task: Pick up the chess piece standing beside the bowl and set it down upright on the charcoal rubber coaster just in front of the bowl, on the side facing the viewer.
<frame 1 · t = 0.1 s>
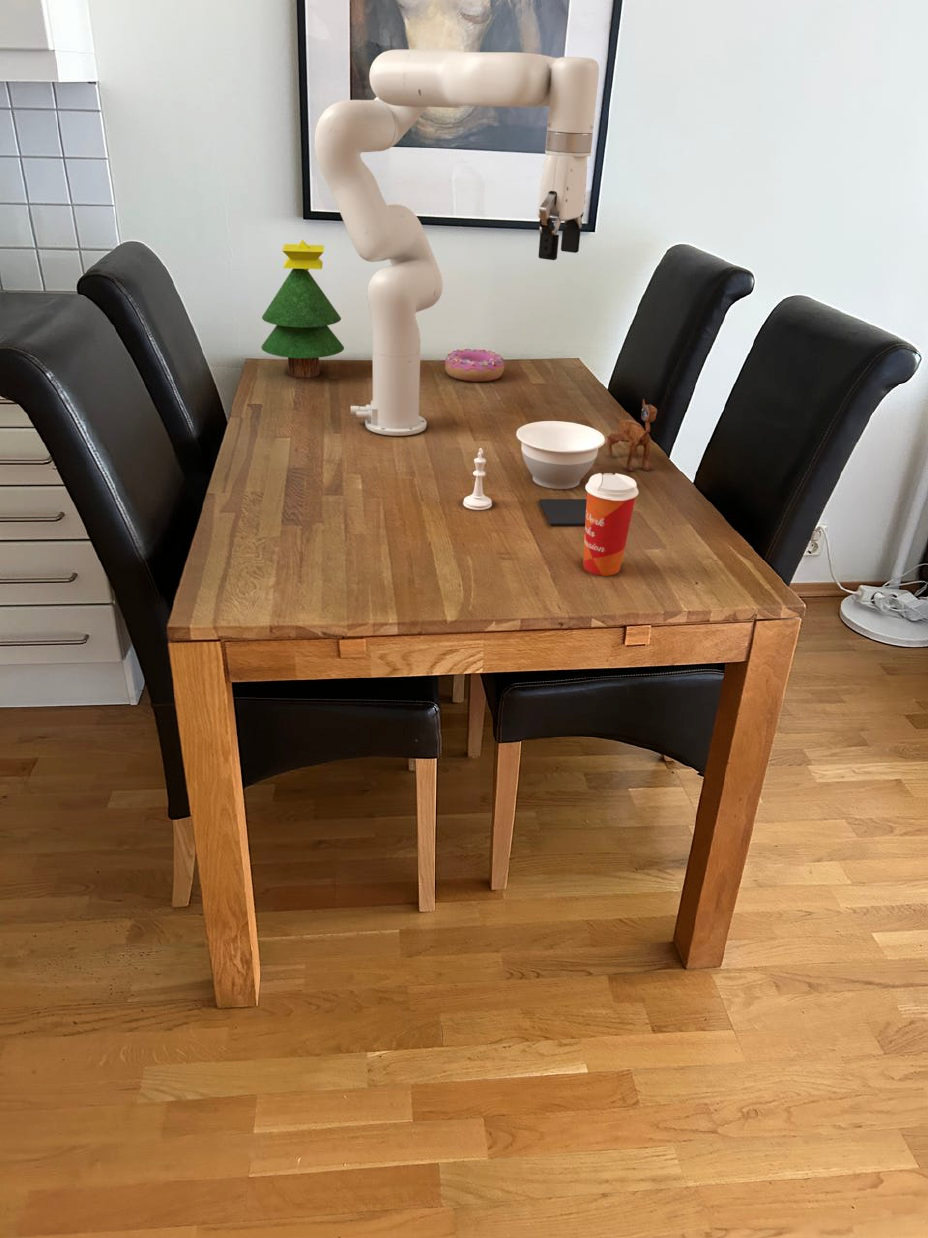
hand: (558, 255, 162), 37 cm above the table, tool pointing down, fingers open, 9 cm apart
decorative tree: (304, 373, 223), on the table
bowl: (556, 480, 172), on the table
coaster: (573, 513, 159), on the table
paper cup: (601, 568, 142), on the table
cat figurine: (625, 459, 183), on the table
chess piece: (477, 505, 161), on the table
donut: (474, 376, 228), on the table
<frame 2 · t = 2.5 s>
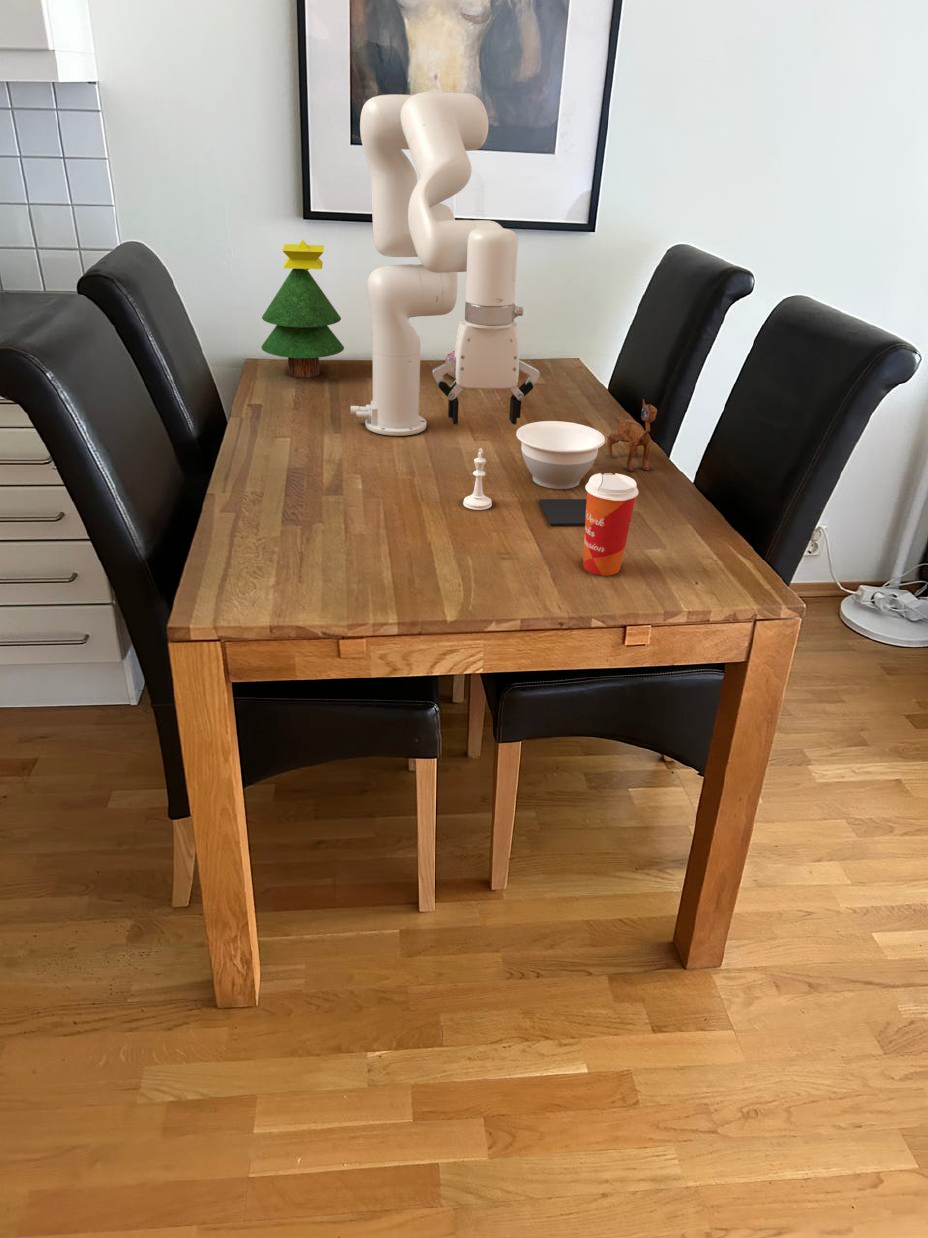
hand: (483, 421, 153), 15 cm above the table, tool pointing down, fingers open, 9 cm apart
nothing on the table moved.
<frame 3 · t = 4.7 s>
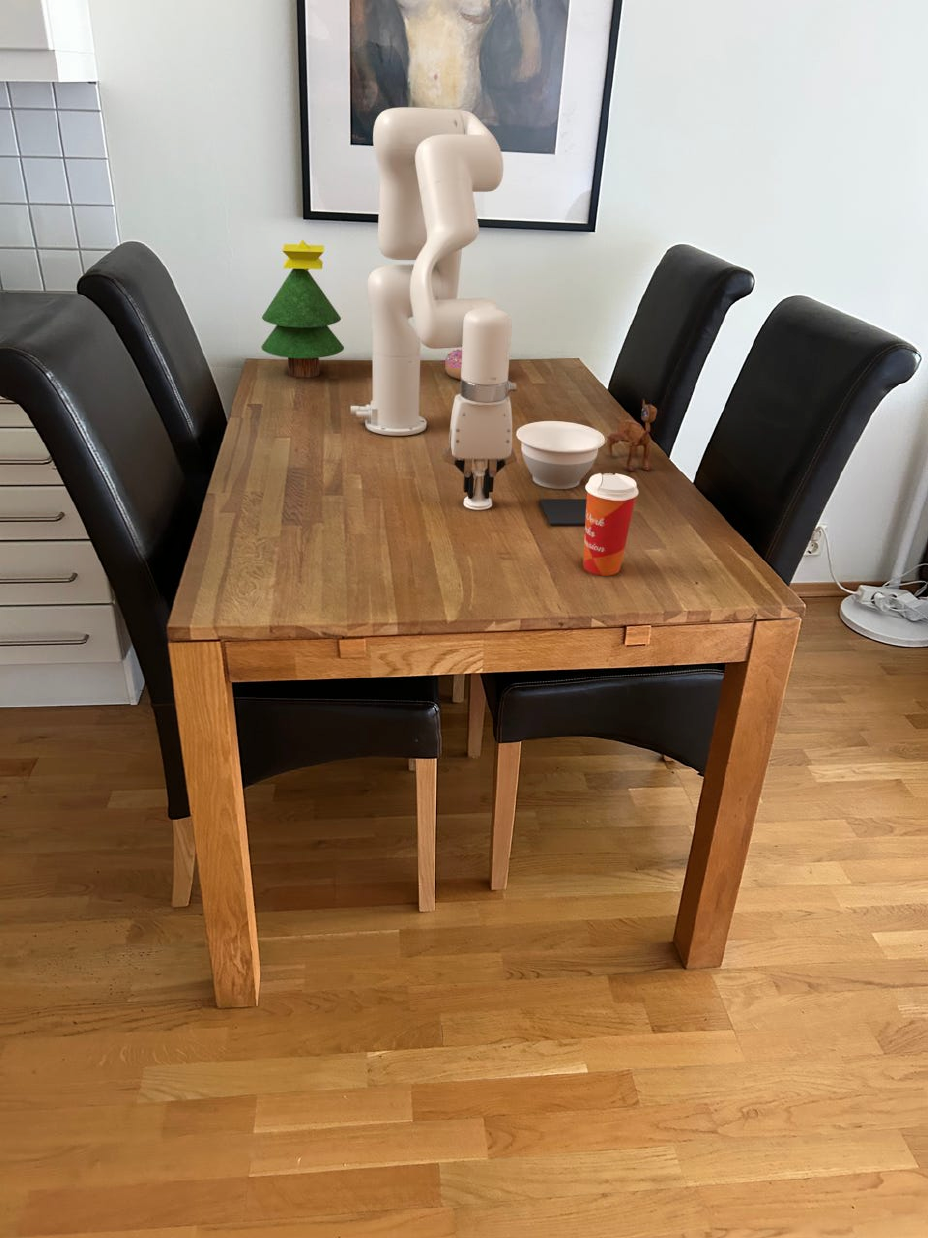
hand: (477, 495, 160), 2 cm above the table, tool pointing down, fingers closed on chess piece
chess piece: (477, 505, 161), on the table, touching gripper
everything else where it was.
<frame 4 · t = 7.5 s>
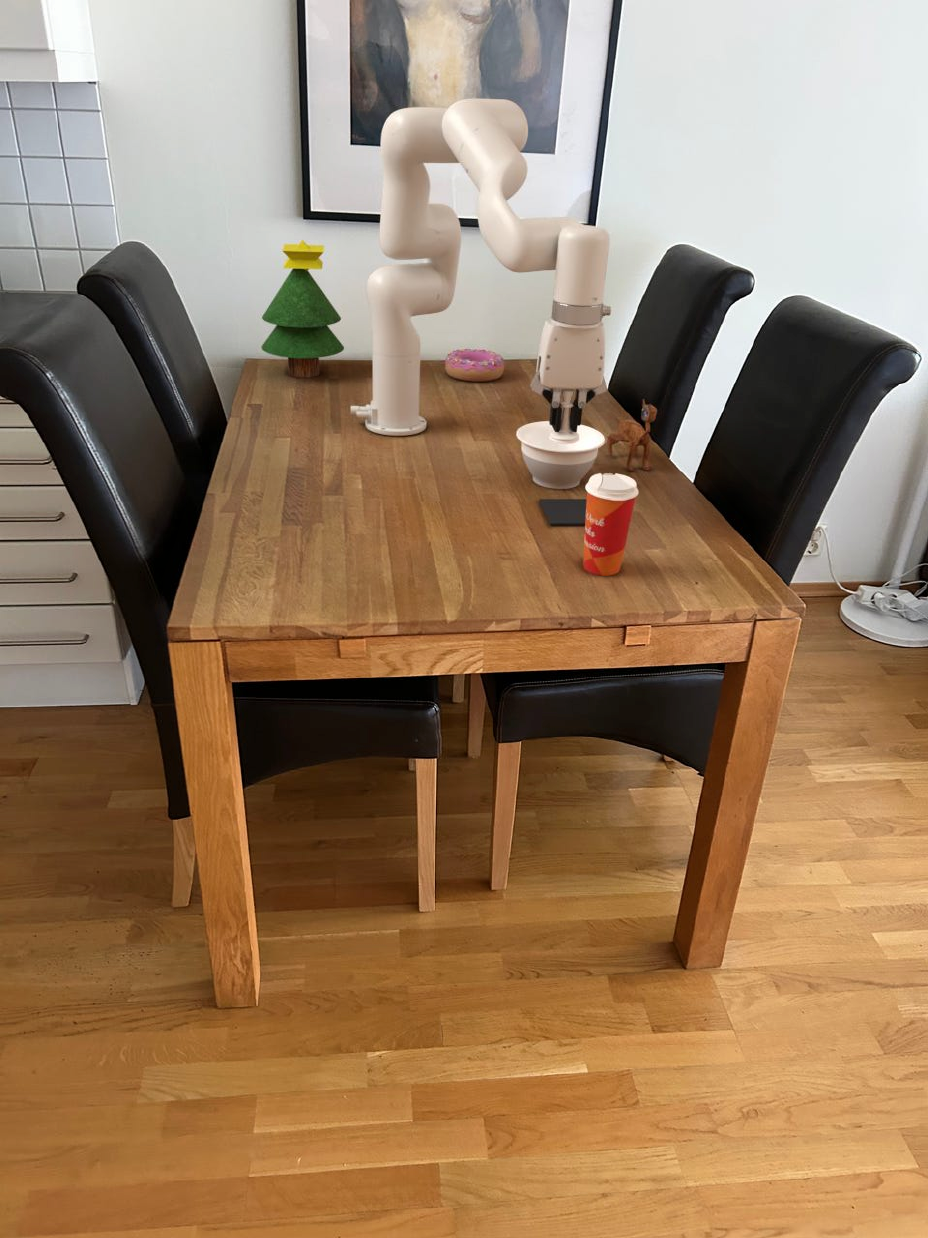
hand: (564, 428, 152), 15 cm above the table, tool pointing down, fingers closed on chess piece
chess piece: (563, 439, 153), point 13 cm above the table, touching gripper
everything else where it was.
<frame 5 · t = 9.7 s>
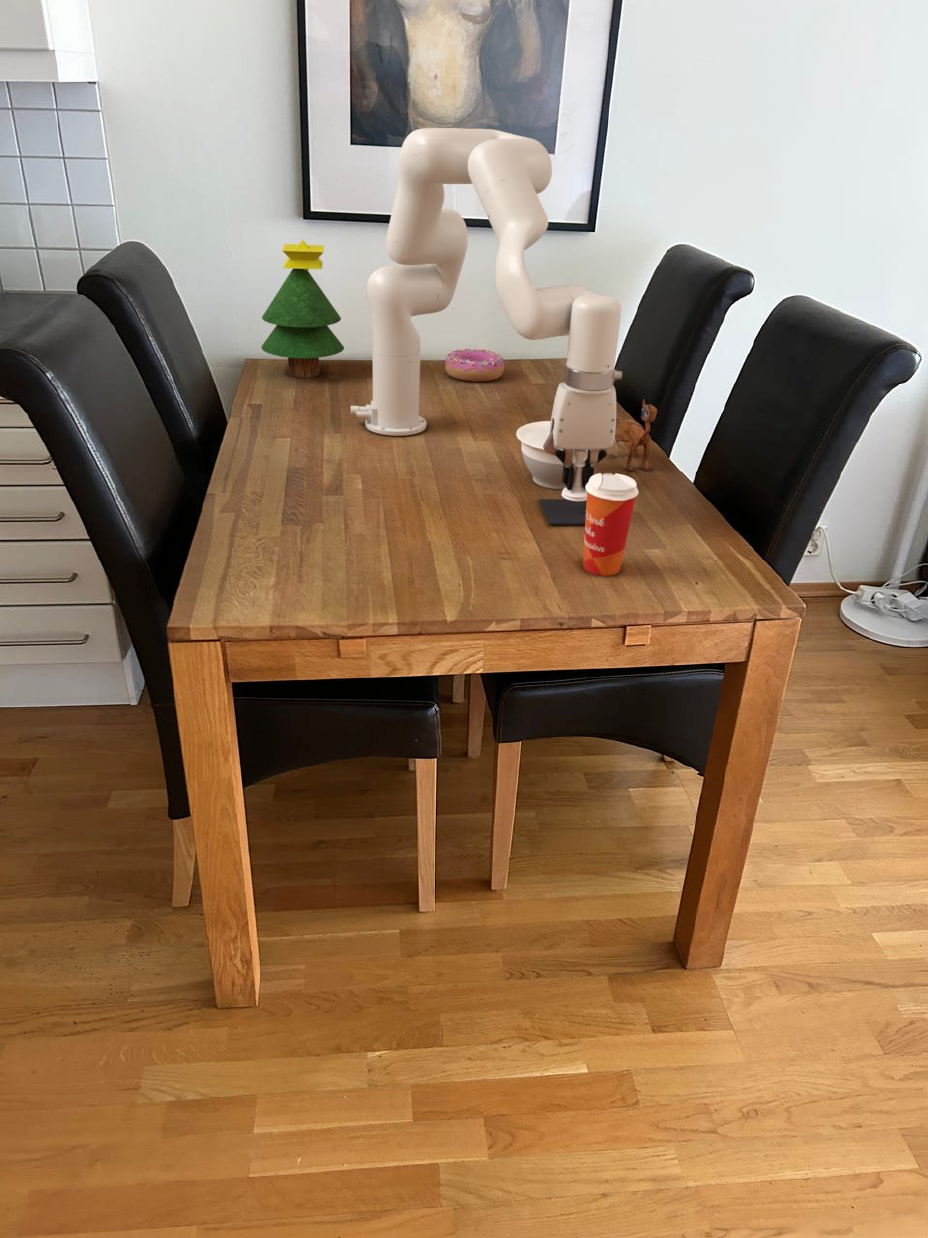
hand: (576, 486, 157), 5 cm above the table, tool pointing down, fingers closed on chess piece
chess piece: (576, 496, 158), point 3 cm above the table, touching gripper
everything else where it was.
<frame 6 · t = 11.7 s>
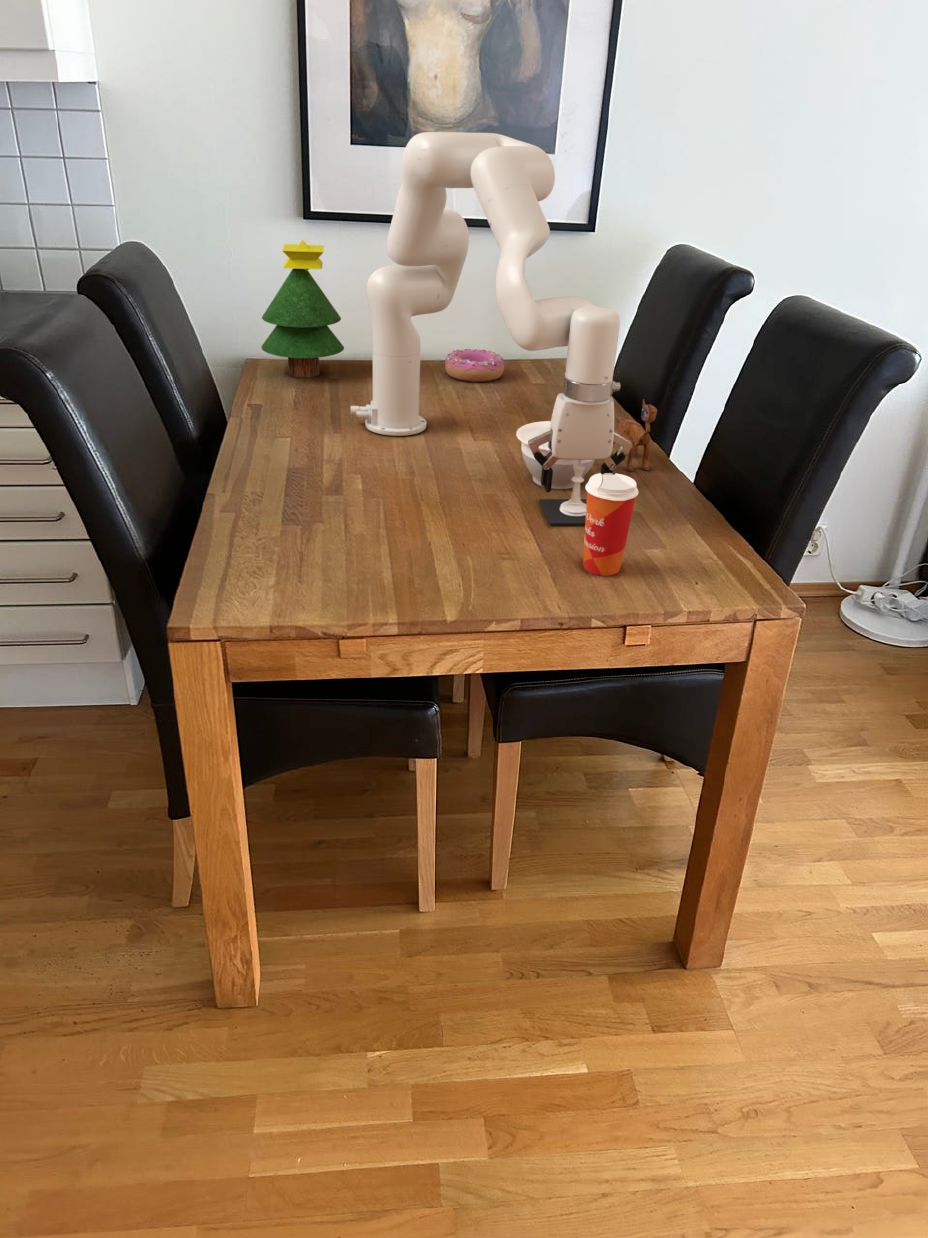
hand: (575, 489, 157), 4 cm above the table, tool pointing down, fingers open, 9 cm apart
chess piece: (574, 511, 159), resting on coaster
everything else where it was.
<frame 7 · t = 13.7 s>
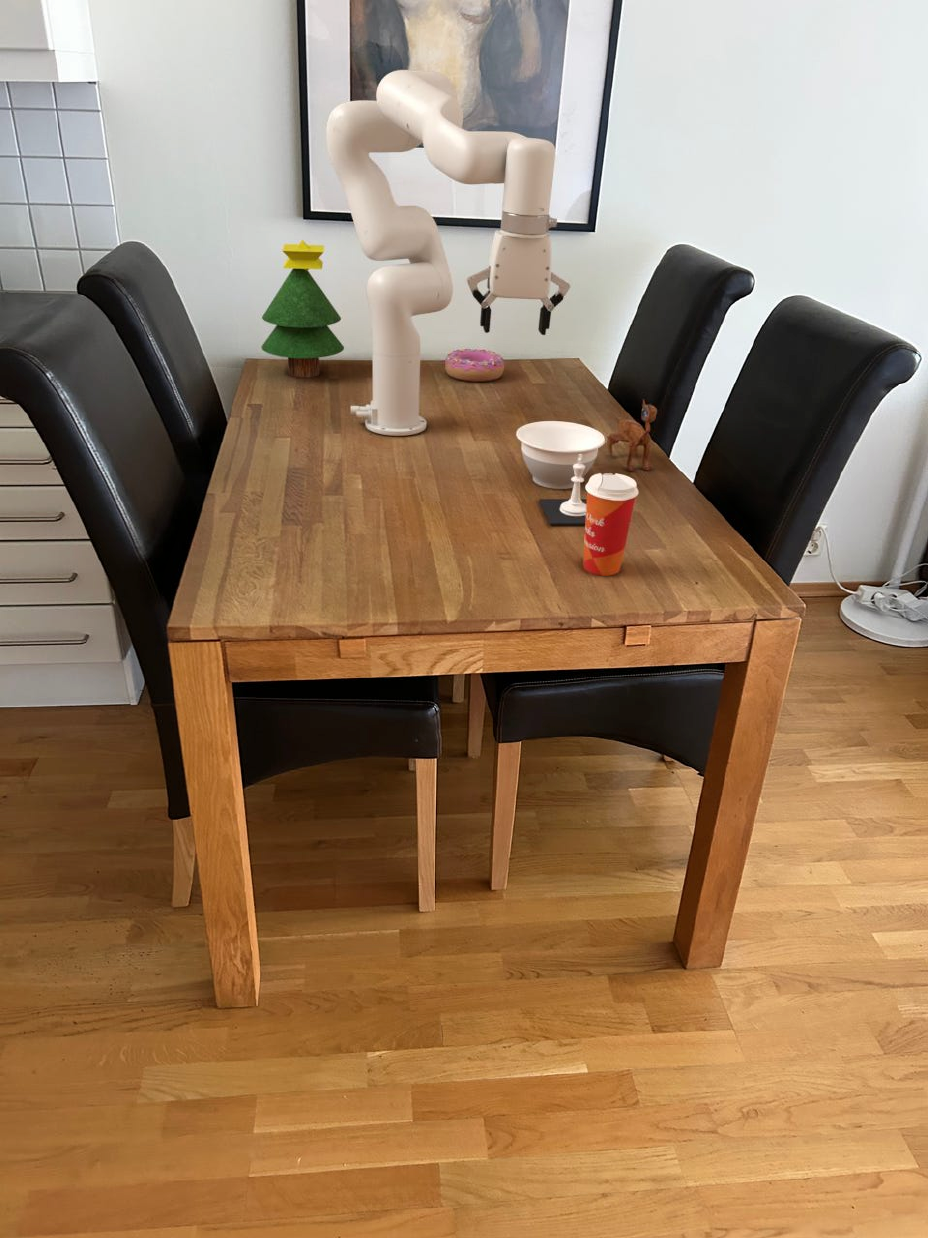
hand: (514, 331, 159), 26 cm above the table, tool pointing down, fingers open, 9 cm apart
nothing on the table moved.
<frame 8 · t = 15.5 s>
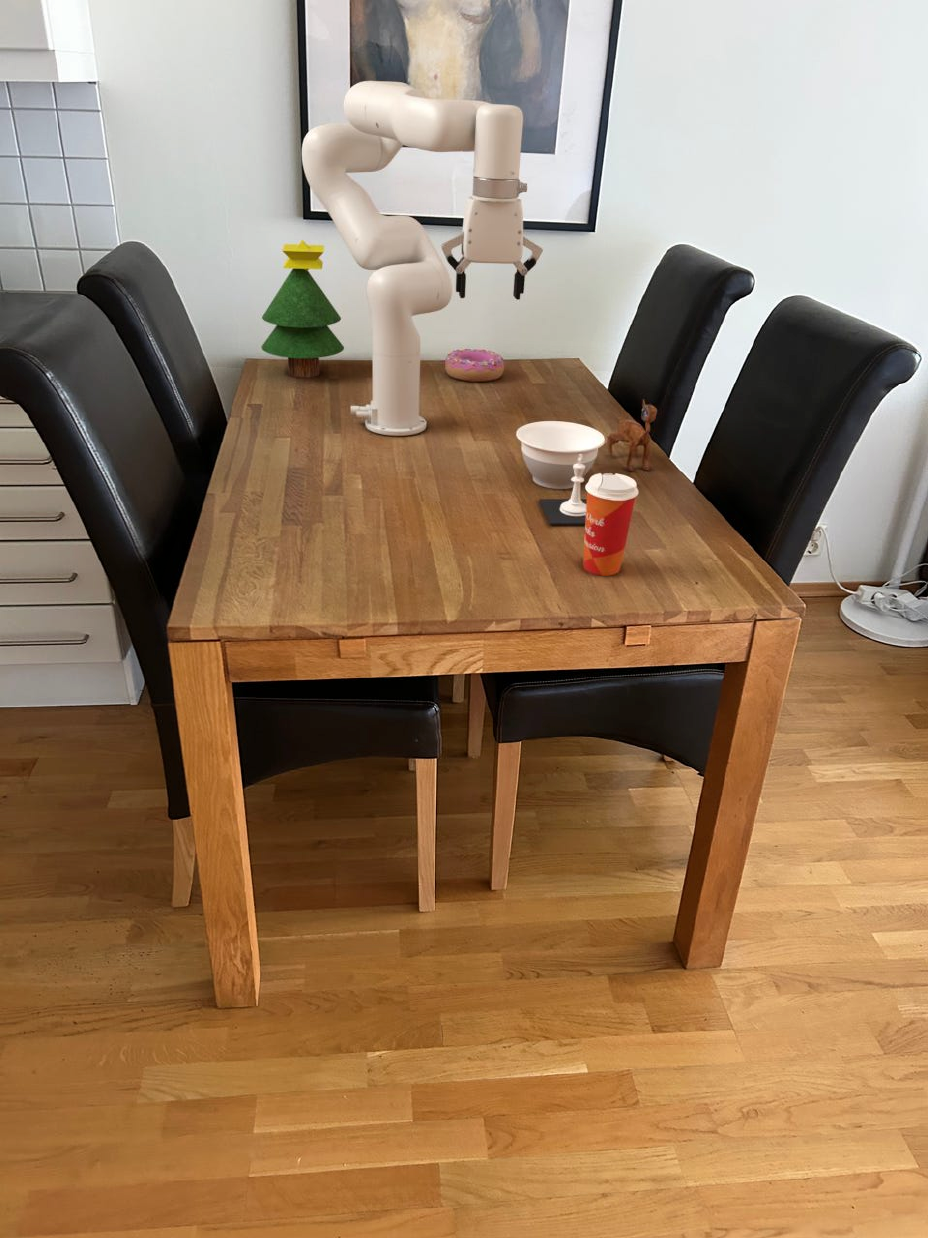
hand: (489, 297, 163), 30 cm above the table, tool pointing down, fingers open, 9 cm apart
nothing on the table moved.
at the end: chess piece inside the target area on the table beside the bowl (0.4 cm from its centre), point 0.5 cm above the table; chess piece tilted 0°; bowl moved 0.2 cm from its start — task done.
